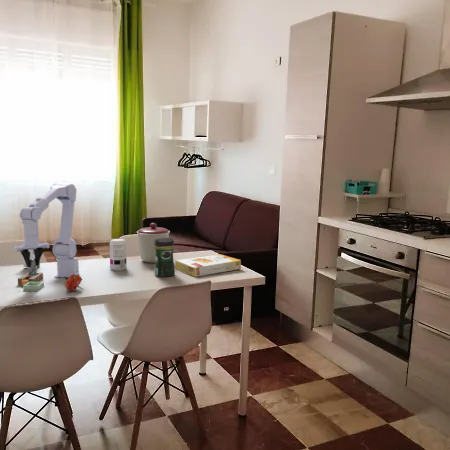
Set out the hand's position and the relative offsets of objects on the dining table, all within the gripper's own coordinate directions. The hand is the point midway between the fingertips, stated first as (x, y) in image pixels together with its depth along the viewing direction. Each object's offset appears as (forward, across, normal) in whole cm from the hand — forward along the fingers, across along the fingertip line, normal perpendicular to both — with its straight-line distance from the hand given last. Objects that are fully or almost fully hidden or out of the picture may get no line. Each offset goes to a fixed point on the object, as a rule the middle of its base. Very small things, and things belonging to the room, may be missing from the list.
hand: (32, 266), depth 205 cm
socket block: (+10, -3, -10) cm, 15 cm away
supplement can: (+10, -46, -7) cm, 48 cm away
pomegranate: (+10, -12, +14) cm, 21 cm away
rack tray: (+10, 0, 0) cm, 10 cm away
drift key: (+10, 0, -8) cm, 13 cm away
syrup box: (+10, -14, -37) cm, 41 cm away
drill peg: (+4, 0, 0) cm, 4 cm away
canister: (+10, -70, -10) cm, 72 cm away
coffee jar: (+10, -56, +18) cm, 60 cm away
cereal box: (+10, -81, +23) cm, 85 cm away
